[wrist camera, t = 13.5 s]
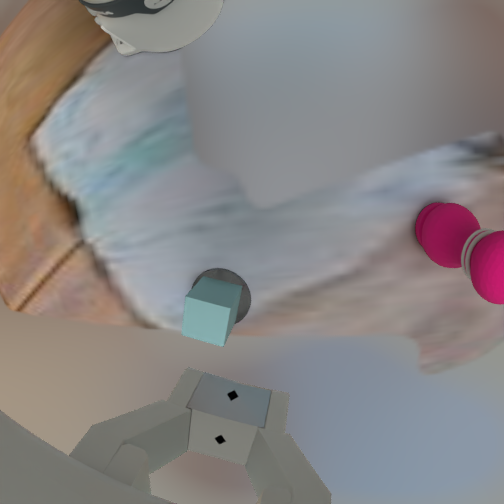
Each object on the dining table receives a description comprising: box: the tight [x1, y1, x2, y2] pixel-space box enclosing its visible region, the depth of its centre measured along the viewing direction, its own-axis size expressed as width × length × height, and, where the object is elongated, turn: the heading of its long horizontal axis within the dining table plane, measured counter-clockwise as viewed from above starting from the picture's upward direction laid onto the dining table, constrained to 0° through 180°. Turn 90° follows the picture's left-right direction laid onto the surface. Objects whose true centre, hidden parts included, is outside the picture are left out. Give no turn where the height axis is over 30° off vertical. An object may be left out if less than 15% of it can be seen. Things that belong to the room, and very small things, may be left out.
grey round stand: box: [192, 269, 251, 324], centre depth 40 cm, size 8×8×6 cm
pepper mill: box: [415, 203, 504, 304], centre depth 26 cm, size 7×7×20 cm
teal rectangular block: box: [182, 276, 242, 347], centre depth 39 cm, size 5×5×7 cm
